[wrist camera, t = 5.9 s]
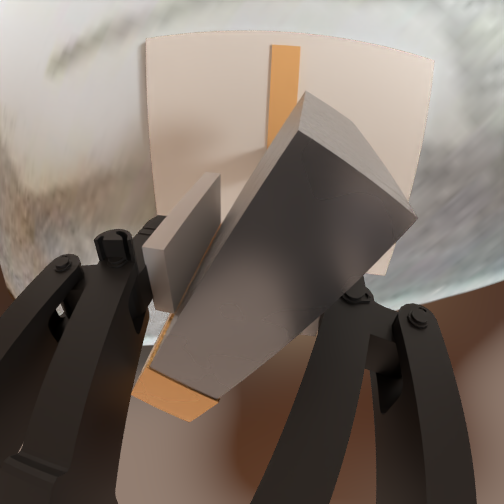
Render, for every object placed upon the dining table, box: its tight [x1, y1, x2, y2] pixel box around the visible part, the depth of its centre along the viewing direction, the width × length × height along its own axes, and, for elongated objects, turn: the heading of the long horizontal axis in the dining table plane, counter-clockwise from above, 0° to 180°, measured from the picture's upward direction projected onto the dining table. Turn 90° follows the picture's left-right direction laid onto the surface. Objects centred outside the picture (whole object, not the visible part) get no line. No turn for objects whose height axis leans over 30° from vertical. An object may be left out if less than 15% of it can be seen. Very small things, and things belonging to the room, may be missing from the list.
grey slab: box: [131, 91, 418, 422], centre depth 11 cm, size 11×3×9 cm, turn 151°
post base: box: [146, 31, 434, 276], centre depth 18 cm, size 20×18×8 cm
